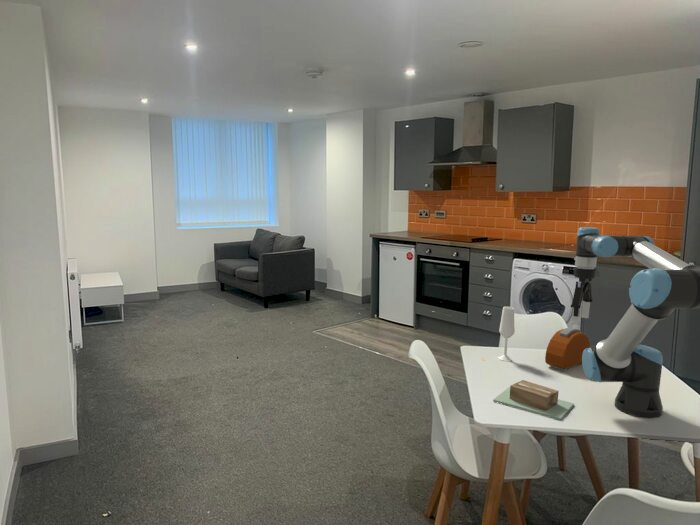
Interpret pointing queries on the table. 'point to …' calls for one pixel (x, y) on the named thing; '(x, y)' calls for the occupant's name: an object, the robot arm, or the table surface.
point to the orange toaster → (566, 348)
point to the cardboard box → (534, 395)
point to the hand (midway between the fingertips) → (580, 321)
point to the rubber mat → (554, 412)
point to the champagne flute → (507, 328)
